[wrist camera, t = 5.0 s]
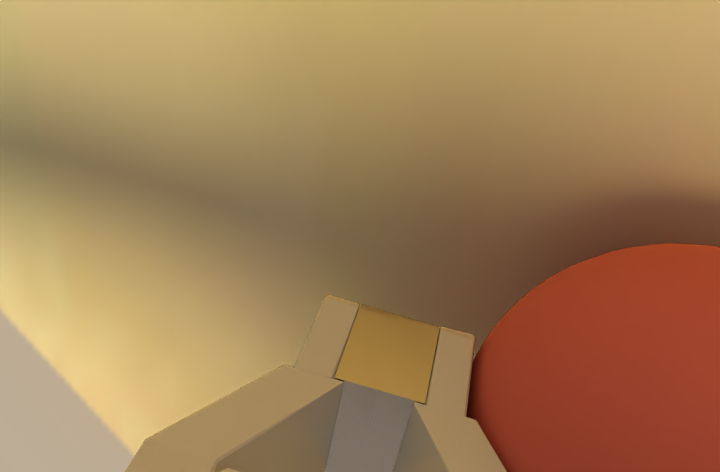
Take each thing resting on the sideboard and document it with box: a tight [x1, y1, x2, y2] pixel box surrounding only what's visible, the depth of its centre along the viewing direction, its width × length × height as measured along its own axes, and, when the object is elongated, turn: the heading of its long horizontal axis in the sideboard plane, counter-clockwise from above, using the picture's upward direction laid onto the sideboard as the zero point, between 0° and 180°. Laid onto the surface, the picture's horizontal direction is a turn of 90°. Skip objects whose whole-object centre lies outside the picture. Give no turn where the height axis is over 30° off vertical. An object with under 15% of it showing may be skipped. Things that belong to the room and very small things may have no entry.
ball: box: [466, 243, 720, 472], centre depth 9 cm, size 6×6×6 cm
